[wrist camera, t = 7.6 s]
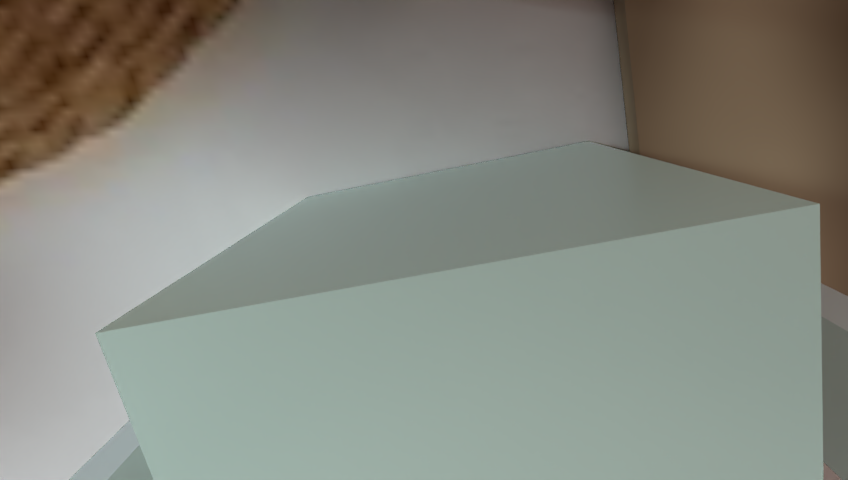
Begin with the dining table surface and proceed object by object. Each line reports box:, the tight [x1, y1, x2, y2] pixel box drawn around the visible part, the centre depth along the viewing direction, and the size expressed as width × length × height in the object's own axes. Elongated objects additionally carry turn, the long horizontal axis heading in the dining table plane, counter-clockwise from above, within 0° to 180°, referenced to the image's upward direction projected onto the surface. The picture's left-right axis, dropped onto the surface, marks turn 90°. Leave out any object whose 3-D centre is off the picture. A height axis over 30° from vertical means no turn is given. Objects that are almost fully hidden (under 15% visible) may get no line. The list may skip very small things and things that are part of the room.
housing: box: [95, 141, 823, 480], centre depth 11 cm, size 8×8×9 cm
